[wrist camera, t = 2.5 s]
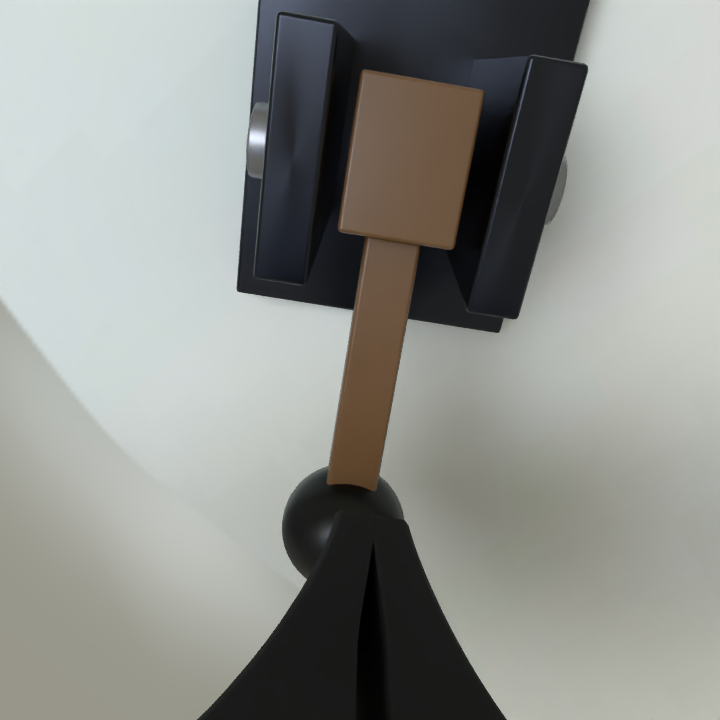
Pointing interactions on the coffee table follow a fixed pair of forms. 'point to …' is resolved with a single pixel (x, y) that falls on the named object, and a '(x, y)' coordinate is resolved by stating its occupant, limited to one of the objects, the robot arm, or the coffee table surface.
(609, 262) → the coffee table surface
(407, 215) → the lever
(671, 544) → the coffee table surface
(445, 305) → the bracket
